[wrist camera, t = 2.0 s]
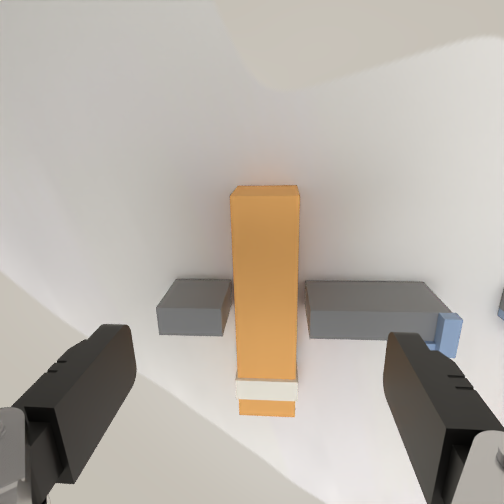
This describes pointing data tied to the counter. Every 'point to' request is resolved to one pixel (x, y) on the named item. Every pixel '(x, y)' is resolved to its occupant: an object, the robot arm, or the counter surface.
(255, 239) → the banded orange pillar
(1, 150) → the counter surface
